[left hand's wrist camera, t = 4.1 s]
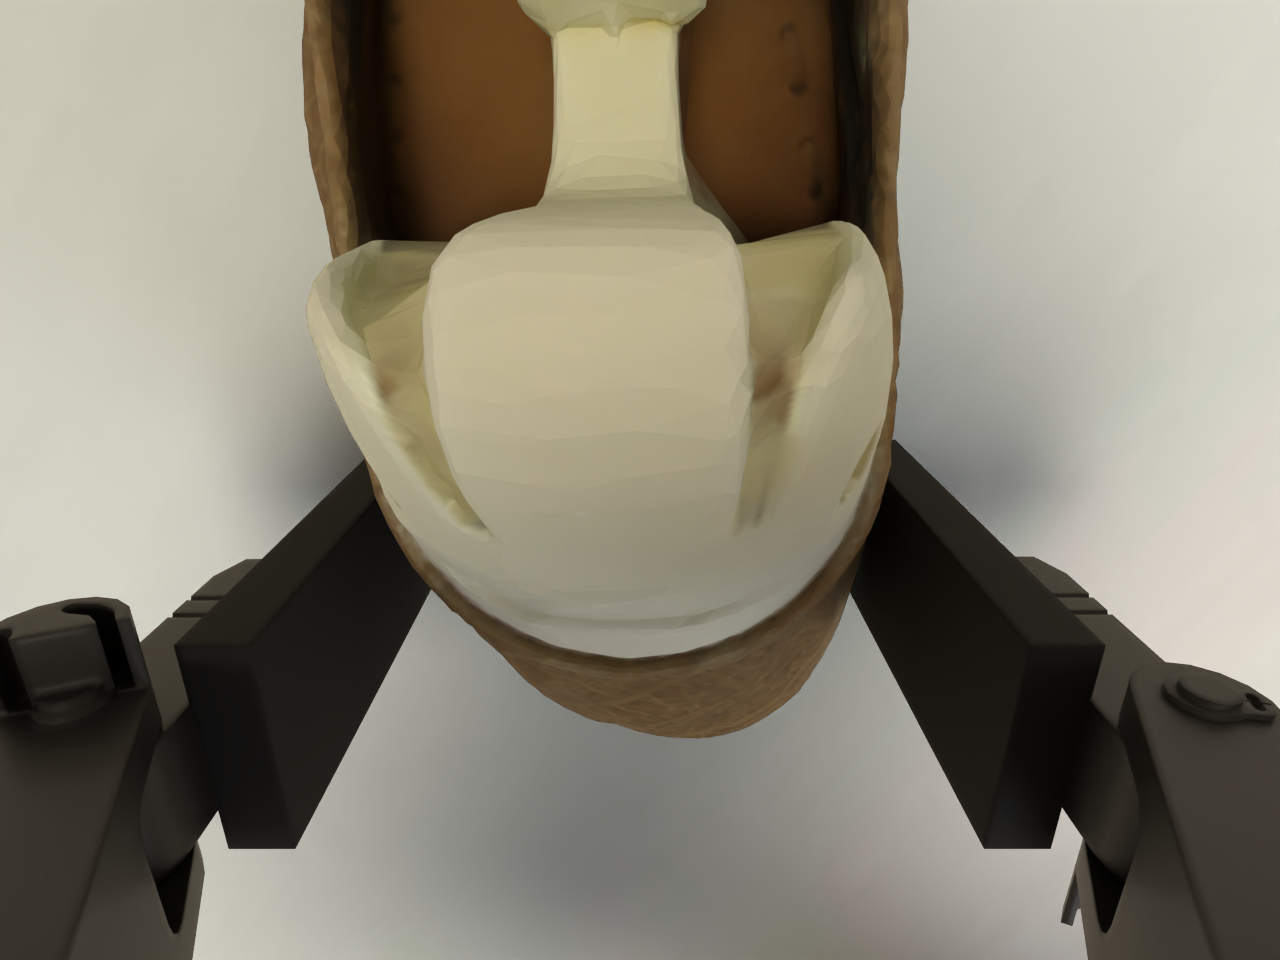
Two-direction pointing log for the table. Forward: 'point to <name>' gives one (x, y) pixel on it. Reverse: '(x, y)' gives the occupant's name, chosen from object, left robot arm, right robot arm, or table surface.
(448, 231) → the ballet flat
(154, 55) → the table surface
